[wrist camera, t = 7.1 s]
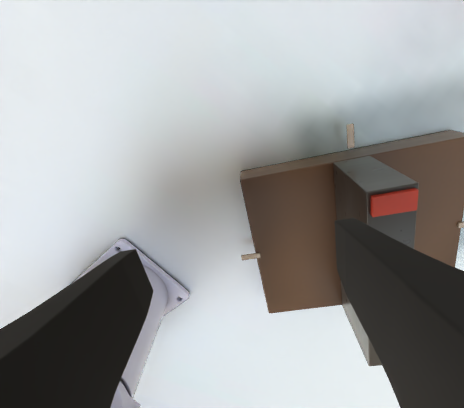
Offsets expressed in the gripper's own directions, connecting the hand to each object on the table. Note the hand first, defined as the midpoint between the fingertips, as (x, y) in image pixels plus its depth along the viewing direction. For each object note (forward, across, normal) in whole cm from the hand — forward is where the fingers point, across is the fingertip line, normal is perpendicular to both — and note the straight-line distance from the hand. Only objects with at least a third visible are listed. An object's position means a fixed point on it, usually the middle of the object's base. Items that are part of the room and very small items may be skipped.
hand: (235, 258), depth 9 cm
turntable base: (+10, -7, +6) cm, 14 cm away
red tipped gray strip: (+8, -7, +6) cm, 12 cm away
